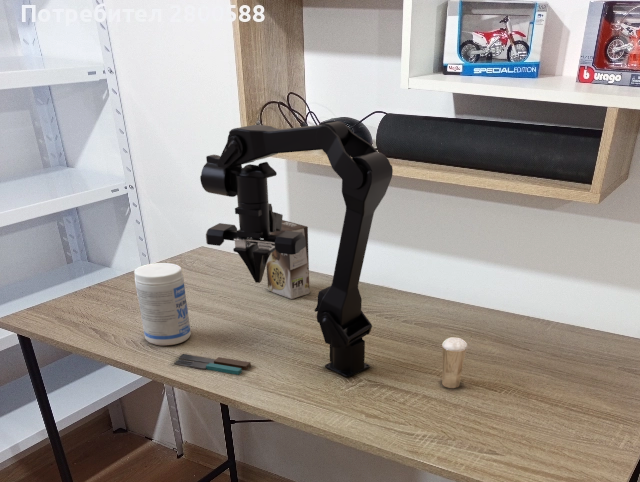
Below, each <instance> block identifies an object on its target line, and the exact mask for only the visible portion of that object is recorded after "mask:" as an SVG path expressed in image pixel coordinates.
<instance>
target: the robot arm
mask: <svg viewBox="0 0 640 482" xmlns="http://www.w3.org/2000/svg"><path fill="white" fill-rule="evenodd" d="M227 135H228V136H227V139H226V140H227V141H226V144H225V145H224V148H223V150H222V151H221V154H220V155H218V154H209V155H206V156H205V160H206V162H205V164H204V165H203V166H202V169H201V174H200V177H199V180H200V184H201V187H202V189H203V190H204V191H205V192H206V193H209V194H214V195H218V196H224V197H229V198H235V197H236V198H237V199H236V201H237V206H236V207H235V208H234V214H235V215H238V224H239V229H238V228H237V226H236V225H235V224H230V223H222V222H219V223H217V224H215V225H213V226H211V227H209V228H208V229H207V230H206V231H205V232H206V233H205V241H206V244H207V245H208V246H218V247H220V246H222V244H224V242H225V241H232V242H234V247H233V249H232V250H233V252H234V253H237V254H238V255H239V257H240V258H241V260H242V262H243V263H244V264H245V266H246V268H247V269H248V271H249V273H250V275H251V277H252V279H253V280H254V282H255V283H257V284H260V283H262V280H263V278H264V274H265V270H266V268H267V267H266V263H267V261H268V258H269V256H270V254H271V253H272V252H274V251H275V250H277V251H278V253H282V254H290V255H293V254H296V253H298V252H299V251H300V250H302V249H303V248H305V247H306V240H305V237H304V235H303V233H302V232H293V231H285V232H283V233H281V234H280V235H270V233H271V232H275V231H281V229H282V220H283V217H284V215H283V214H282V213H278V212H274V211H273V206H272V203H269V189H268V178H272V177H277V171H276V170H275V169H274V168H273V167H271V165H270V163H269V162H268V161H264V162H260V163H258V165H257V164H253V163H255V162H256V161H259V160H265V159H267V158H270V157H272V156H276V155H278V154H286V153H297V152H311V151H323V152H324V154H326V157H327V159H328V160H329V164H330V167H331V168H332V170H333V171H334V172H335V173H336V175H337V176H338V177H339V178H340V179H341V195H342V198H343V200H344V204H345V212H344V218H343V223H342V228H341V235H340V240H339V244H338V249H337V254H336V260H335V266H334V270H333V276H332V281H331V284H330V285H329V286H328V287H325V288H323V289H321V290H319V291H318V294H317V304H316V306H315V308H314V310H313V311H314V312H316V321H317V323H318V324H319V327H320V330H321V333H322V337H323V339H324V343H325V344H327V345H329V362H327V363H326V364H325V365H324V368H325V369H327V370H329V371H331V372H334V373H336V374H338V375H341V376H342V377H345V378H351V377H353V376H355V375H357V374H359V373H362V372H364V371H366V370H368V369H371V364H368V363H366V362H365V361H366V359H365V357H366V354H365V353H366V340H364V339H363V338H364V337H366V336H368V335H370V333H371V330H372V328H373V324H372V323H371V321H370V320H369V319H368V317H367V315H366V314H365V313H364V312H363V310H362V302H363V301H362V300H363V299H362V296H361V293H360V289H359V283H360V278H361V274H362V269H363V264H364V260H365V256H366V251H367V247H368V241H369V237H370V233H371V228H372V224H373V218H374V214H375V211H376V210H377V208H378V206H379V205H380V204H381V202H382V200H383V199H384V198H385V196H386V194H387V191H388V188H389V186H390V183H391V181H392V178H393V172H394V171H393V165H392V164H391V162H390V160H389V158H388V157H387V156H386V155H385V154H383V152H379V151H378V150H377V149H376V148H375V147H374V146H373V145H372V144H371V143H370V142H368V141H367V140H365V139H364V138H362V137H360V135H357V134H356V133H354V132H353V130H352V129H350V127H349V126H348V125H347V124H346V123H344V122H342V121H340V120H339V121H337V120H336V121H332V122H328V123H327V122H326V123H322V124H315V125H305V126H297V127H296V126H295V127H287V128H277V127H274V126H271V125H264V124H252V125H246V126H241V127H234V128H232V129H230V130H229V131H228V134H227ZM250 163H252V164H250ZM245 164H246V165H245ZM243 165H245V166H243Z"/></svg>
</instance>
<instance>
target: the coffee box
mask: <svg viewBox="0 0 640 482" xmlns="http://www.w3.org/2000/svg"><path fill="white" fill-rule="evenodd" d="M285 231H293V232H302V233H303V235H304V237H305V240H306V247H305V248H303V249H302V250H300V251H299V252H298V253H296V254H293V255H290V254H282V253H278V251H277V250H275V251H274V252H272V253H271V254H270V256H269V258H268V261H267V263H266V267H265V268H266V278H267V279H266V280H267V291H269V292H271V293H274V294H277V295H280V296H282V297H285V298H288V299H291V300H294V299H296V298H299V297H303V296H306V295H309V294H311V293H310V291H311V290H310V262H309V260H310V259H309V226H307V225H303V224H300V223H296V222H292V221H288V220H285V219H282V229H281V231H275V232H271V233H270V235H280V234H281V233H283V232H285Z"/></svg>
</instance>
